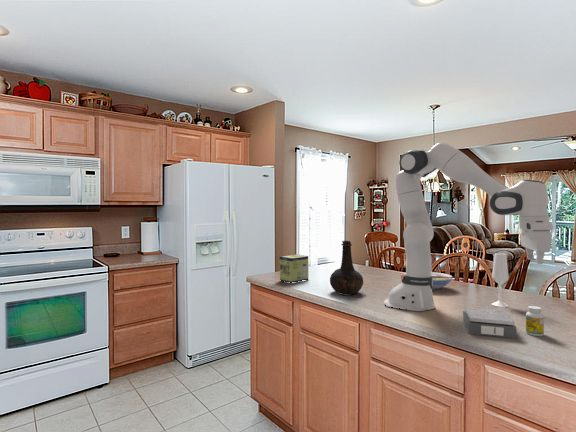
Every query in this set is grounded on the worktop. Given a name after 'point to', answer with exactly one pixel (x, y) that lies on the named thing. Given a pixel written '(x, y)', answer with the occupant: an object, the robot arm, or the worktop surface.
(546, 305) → the worktop surface
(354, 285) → the glass bottle
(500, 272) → the champagne flute
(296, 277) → the protein box
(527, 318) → the supplement bottle
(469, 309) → the scale pan
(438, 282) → the ramen bowl
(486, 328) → the scale base
